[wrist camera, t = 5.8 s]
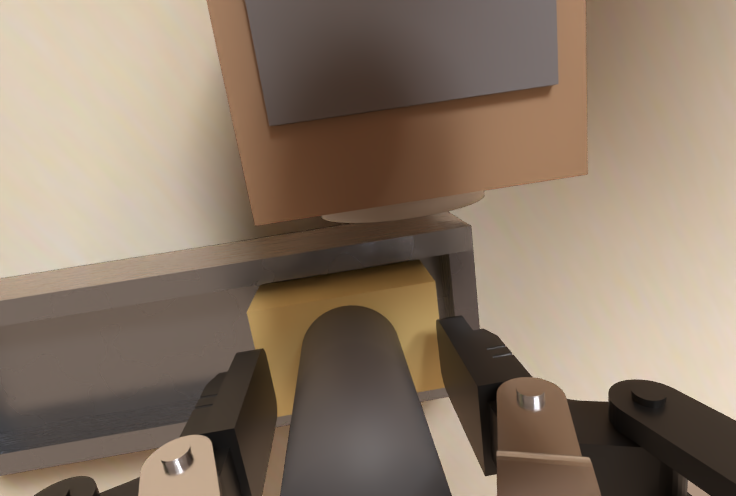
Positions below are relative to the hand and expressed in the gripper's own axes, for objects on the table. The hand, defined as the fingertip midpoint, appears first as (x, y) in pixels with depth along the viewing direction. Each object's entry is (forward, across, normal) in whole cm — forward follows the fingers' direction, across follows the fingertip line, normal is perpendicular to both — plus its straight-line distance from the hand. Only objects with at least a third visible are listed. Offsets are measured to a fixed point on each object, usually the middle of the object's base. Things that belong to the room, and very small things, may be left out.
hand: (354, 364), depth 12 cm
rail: (+5, +5, 0) cm, 7 cm away
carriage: (+3, 0, 0) cm, 3 cm away
